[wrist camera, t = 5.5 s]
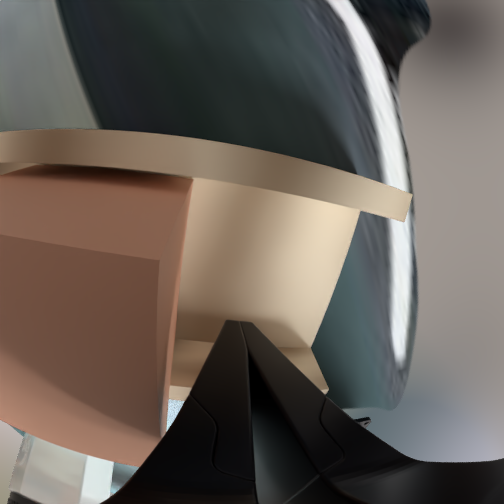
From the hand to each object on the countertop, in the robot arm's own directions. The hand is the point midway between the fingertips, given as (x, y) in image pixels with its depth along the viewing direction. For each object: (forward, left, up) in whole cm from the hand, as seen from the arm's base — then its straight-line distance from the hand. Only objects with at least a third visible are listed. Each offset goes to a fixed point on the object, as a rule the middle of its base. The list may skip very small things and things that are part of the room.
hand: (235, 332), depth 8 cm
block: (+5, 0, -4) cm, 7 cm away
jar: (+12, +20, -5) cm, 24 cm away
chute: (+6, 0, -5) cm, 8 cm away
